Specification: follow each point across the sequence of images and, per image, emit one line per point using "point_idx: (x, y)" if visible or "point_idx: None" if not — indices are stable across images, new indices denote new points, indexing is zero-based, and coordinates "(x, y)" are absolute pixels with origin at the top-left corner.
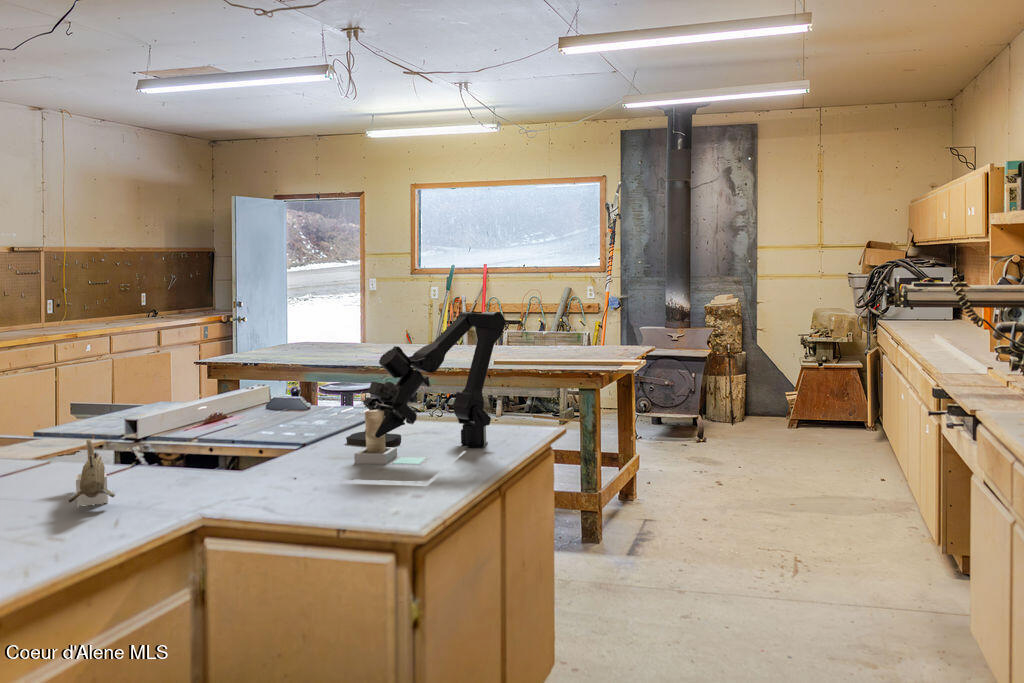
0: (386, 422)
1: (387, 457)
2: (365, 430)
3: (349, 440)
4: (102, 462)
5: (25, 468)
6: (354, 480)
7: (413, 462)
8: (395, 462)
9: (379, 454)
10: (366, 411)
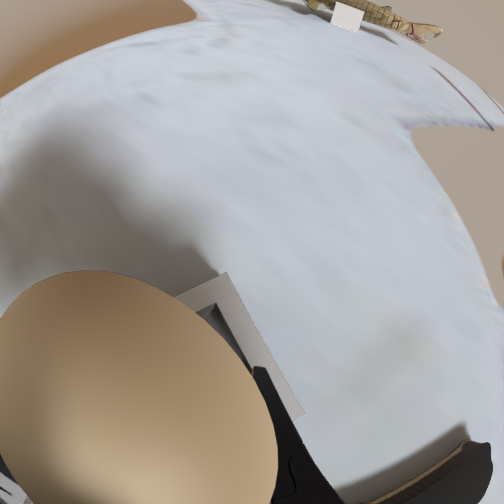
0: None
1: None
2: (261, 377)
3: (474, 447)
4: (382, 13)
5: (495, 103)
6: (105, 173)
7: None
8: None
9: None
10: (211, 371)
